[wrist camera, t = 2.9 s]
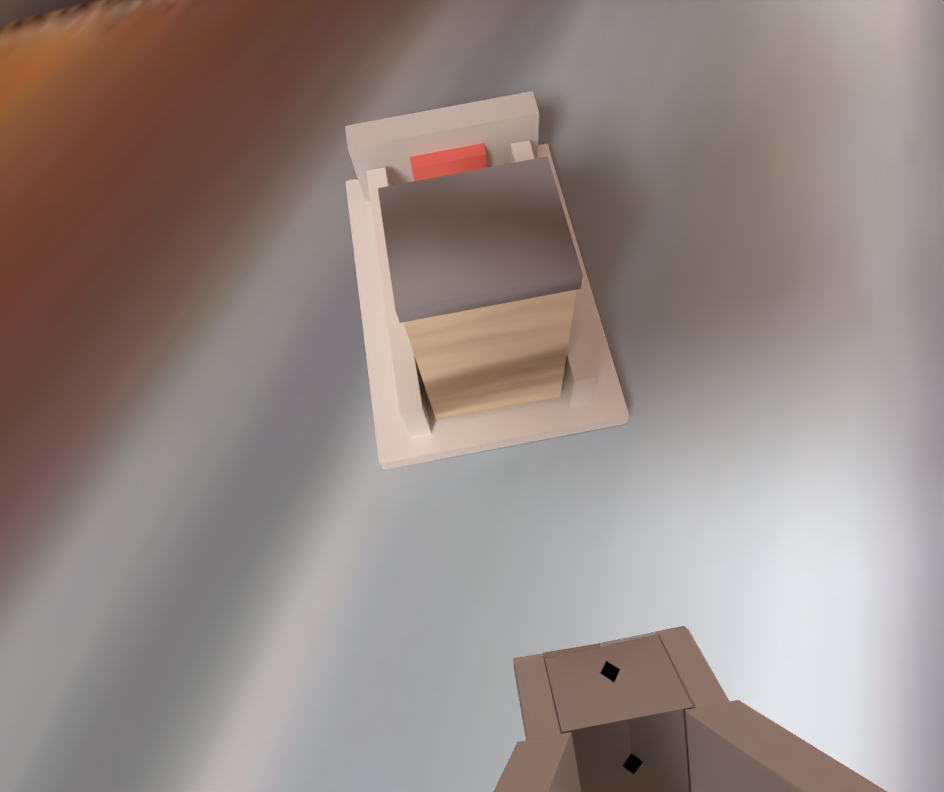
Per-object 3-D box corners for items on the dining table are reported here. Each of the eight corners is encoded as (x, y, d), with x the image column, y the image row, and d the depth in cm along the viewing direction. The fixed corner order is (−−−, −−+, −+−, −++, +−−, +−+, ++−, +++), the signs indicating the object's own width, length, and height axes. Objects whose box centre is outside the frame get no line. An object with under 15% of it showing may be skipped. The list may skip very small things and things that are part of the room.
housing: (626, 423, 30) (645, 380, 26) (383, 470, 30) (359, 435, 26) (546, 156, 37) (550, 85, 33) (349, 193, 37) (326, 126, 33)
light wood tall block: (562, 398, 30) (582, 275, 20) (434, 422, 29) (395, 310, 20) (539, 306, 32) (547, 156, 22) (419, 329, 32) (377, 188, 22)
